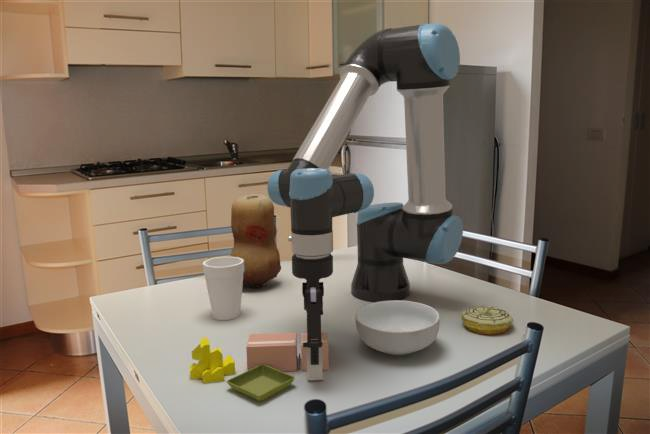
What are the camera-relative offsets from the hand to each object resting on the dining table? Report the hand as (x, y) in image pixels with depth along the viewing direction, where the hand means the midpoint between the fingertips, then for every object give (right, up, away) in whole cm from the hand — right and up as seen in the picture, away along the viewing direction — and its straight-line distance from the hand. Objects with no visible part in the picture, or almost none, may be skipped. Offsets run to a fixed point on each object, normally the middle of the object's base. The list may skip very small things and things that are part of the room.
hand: (314, 362), depth 108 cm
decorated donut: (+37, +3, +16) cm, 41 cm away
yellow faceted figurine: (-19, -2, -3) cm, 19 cm away
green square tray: (-9, -3, -9) cm, 13 cm away
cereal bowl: (+16, +1, +7) cm, 18 cm away
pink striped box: (-8, 0, 0) cm, 8 cm away
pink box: (0, 0, 0) cm, 0 cm away
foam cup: (-21, +4, +26) cm, 34 cm away
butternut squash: (-17, +9, +48) cm, 52 cm away
